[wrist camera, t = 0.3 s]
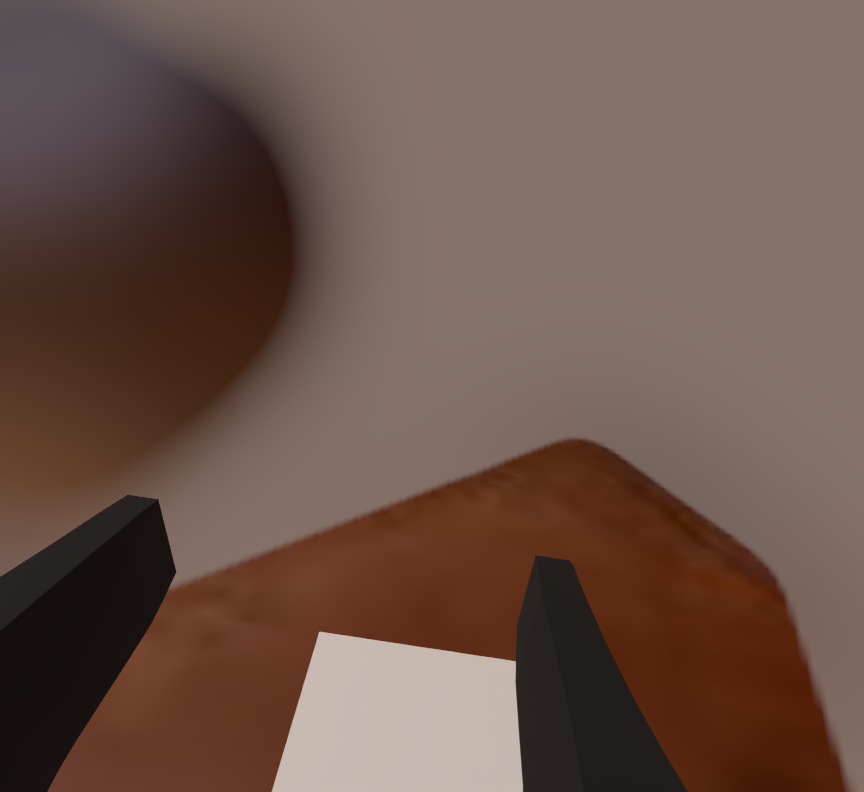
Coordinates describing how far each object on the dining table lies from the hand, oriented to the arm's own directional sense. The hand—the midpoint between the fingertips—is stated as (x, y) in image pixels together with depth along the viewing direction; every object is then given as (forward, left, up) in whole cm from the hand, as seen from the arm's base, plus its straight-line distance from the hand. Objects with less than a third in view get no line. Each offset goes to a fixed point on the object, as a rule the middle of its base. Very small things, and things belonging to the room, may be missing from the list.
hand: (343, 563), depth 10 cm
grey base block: (+3, -2, -21) cm, 21 cm away
